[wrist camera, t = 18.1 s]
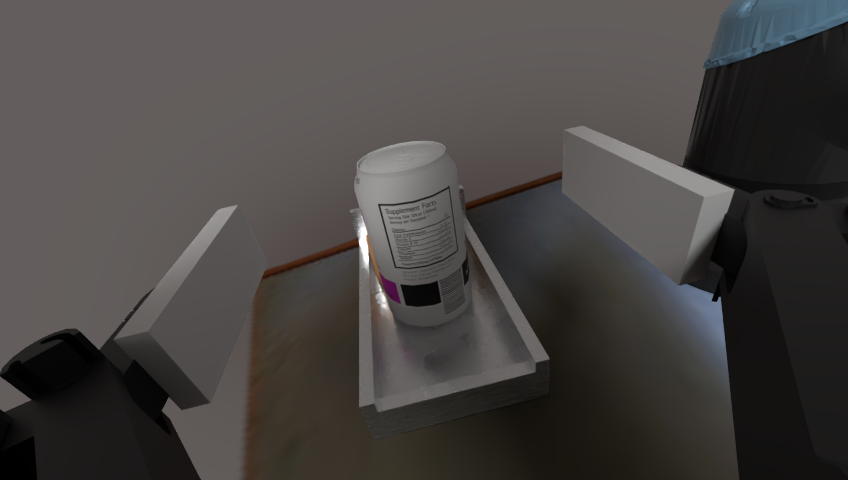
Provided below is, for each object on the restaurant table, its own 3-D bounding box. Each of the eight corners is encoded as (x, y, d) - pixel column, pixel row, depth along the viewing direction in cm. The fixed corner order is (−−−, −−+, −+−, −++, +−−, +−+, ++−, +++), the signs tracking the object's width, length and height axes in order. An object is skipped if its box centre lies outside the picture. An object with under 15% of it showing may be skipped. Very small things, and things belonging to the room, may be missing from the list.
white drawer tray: (548, 394, 25) (551, 315, 21) (374, 440, 25) (341, 367, 20) (468, 242, 44) (461, 184, 40) (367, 265, 43) (350, 209, 39)
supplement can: (374, 318, 34) (326, 174, 26) (417, 269, 39) (388, 138, 31) (449, 343, 29) (418, 180, 22) (484, 283, 35) (470, 138, 27)
